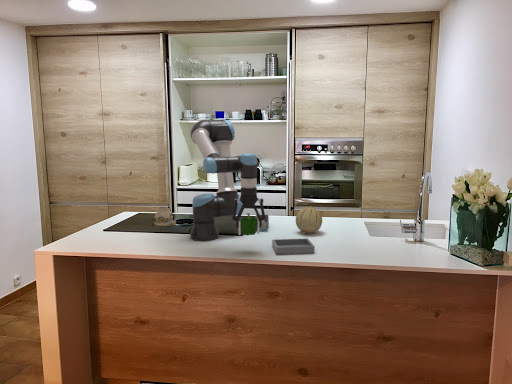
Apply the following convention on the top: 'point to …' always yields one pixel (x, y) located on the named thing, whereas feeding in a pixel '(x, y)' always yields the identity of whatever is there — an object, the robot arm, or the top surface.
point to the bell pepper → (248, 225)
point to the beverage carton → (264, 224)
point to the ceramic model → (164, 218)
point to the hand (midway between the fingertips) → (248, 233)
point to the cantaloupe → (309, 220)
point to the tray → (292, 246)
